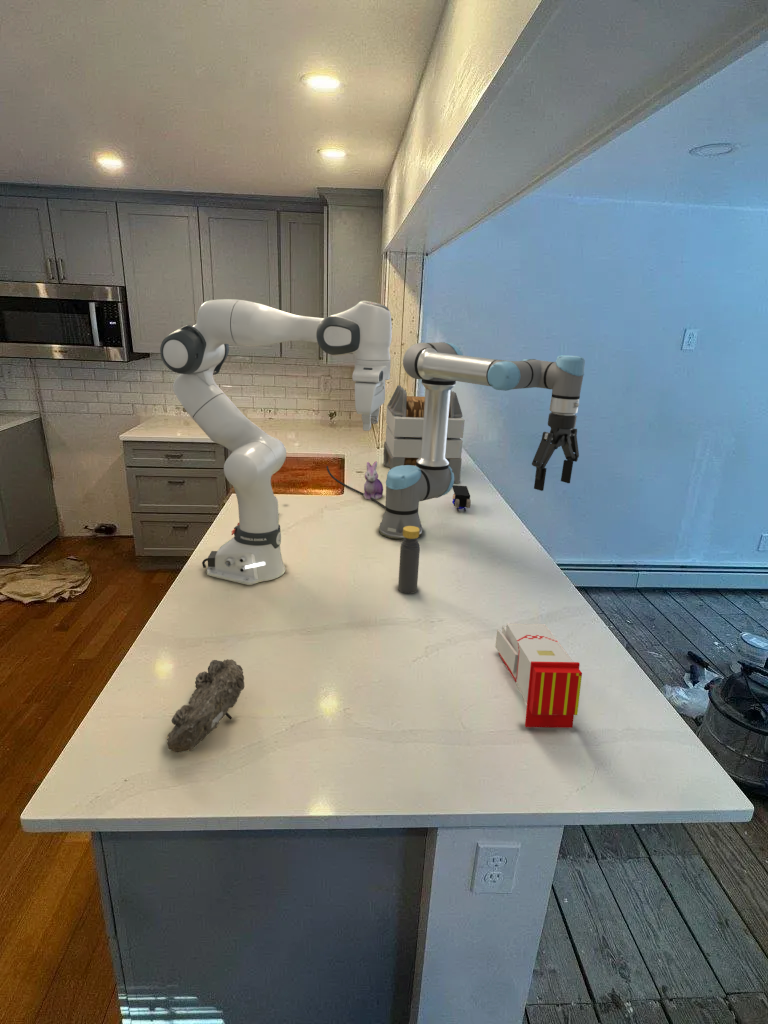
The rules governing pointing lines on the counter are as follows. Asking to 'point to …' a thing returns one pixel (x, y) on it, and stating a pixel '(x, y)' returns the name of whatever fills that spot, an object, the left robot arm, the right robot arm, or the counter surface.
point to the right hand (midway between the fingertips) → (552, 485)
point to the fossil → (206, 705)
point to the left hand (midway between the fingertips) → (370, 426)
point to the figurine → (372, 483)
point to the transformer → (419, 431)
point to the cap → (411, 532)
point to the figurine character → (461, 497)
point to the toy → (541, 674)
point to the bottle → (409, 565)
